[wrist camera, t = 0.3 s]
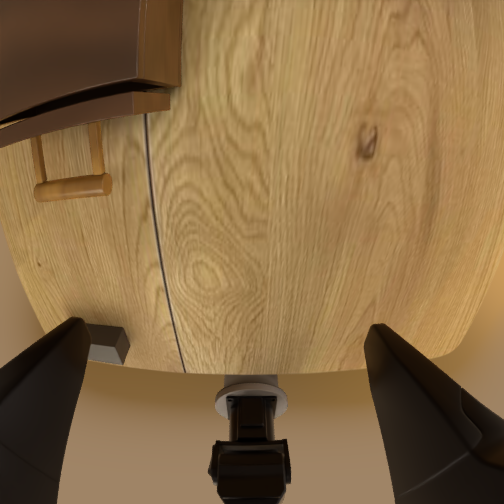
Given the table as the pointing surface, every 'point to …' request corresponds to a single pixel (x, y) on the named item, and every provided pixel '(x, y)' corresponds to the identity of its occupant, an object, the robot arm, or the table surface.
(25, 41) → the cabinet
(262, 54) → the table surface
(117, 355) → the black rubber eraser
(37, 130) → the drawer
